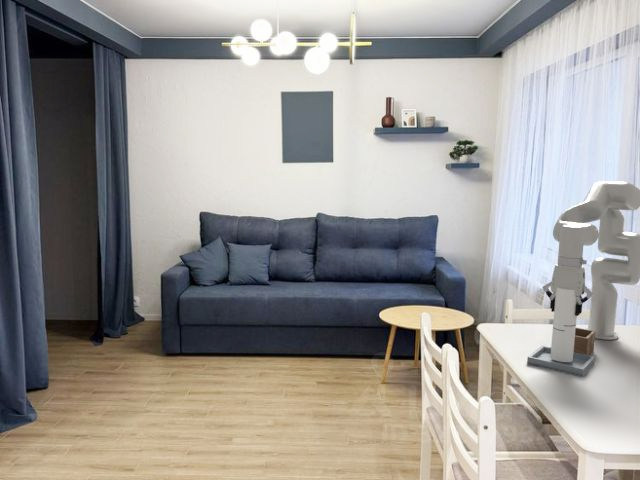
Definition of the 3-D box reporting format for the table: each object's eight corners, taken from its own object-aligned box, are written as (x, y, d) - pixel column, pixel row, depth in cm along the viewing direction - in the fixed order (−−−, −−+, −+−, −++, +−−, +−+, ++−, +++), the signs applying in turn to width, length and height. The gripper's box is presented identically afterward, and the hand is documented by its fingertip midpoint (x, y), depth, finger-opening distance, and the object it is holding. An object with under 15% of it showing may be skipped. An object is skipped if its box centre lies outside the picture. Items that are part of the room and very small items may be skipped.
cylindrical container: (574, 362, 198) (581, 290, 194) (552, 361, 199) (558, 289, 195) (570, 355, 204) (576, 286, 201) (548, 354, 206) (554, 284, 202)
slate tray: (541, 352, 214) (542, 345, 213) (594, 363, 203) (595, 356, 202) (527, 363, 201) (527, 356, 201) (582, 376, 190) (583, 369, 190)
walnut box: (560, 345, 222) (562, 325, 221) (593, 352, 215) (595, 331, 214) (551, 353, 213) (553, 331, 211) (585, 360, 206) (587, 338, 204)
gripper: (600, 263, 194) (595, 315, 197) (546, 257, 205) (542, 306, 208) (594, 266, 189) (590, 320, 191) (539, 260, 199) (536, 310, 202)
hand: (565, 312), depth 199 cm, fingers closed on cylindrical container, 7 cm apart
